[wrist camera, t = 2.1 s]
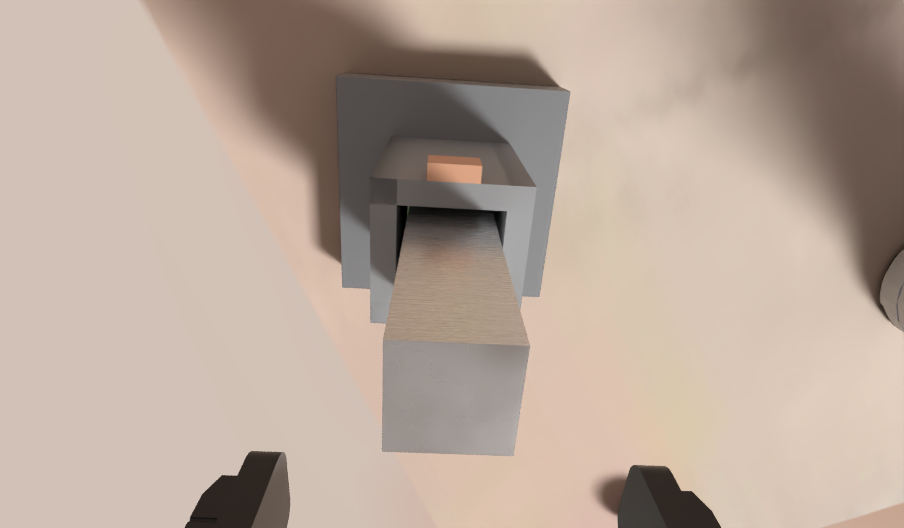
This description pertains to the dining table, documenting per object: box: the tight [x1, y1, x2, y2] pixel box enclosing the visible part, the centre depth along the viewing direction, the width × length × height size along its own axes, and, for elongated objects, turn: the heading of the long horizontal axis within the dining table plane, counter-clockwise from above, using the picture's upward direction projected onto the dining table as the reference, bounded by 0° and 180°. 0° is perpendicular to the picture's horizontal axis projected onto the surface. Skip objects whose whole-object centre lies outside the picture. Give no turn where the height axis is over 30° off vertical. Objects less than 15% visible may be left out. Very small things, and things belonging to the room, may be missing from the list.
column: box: [382, 206, 530, 456], centre depth 24 cm, size 4×4×20 cm
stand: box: [336, 73, 570, 323], centre depth 30 cm, size 14×14×13 cm
